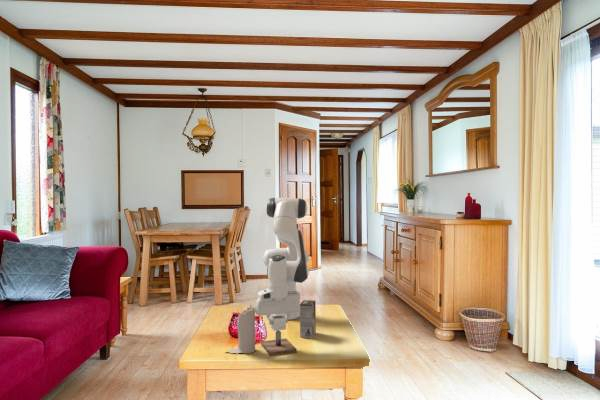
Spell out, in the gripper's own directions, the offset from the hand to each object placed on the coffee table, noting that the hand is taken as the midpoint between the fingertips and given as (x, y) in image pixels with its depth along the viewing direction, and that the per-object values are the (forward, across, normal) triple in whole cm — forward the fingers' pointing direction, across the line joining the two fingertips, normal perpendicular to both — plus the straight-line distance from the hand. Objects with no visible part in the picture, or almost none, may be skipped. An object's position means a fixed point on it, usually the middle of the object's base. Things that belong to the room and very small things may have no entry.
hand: (278, 323), depth 188 cm
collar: (+2, 0, 0) cm, 2 cm away
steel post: (+10, 0, 0) cm, 10 cm away
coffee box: (+11, -19, -13) cm, 26 cm away
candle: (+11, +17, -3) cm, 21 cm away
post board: (+11, 0, 0) cm, 11 cm away
